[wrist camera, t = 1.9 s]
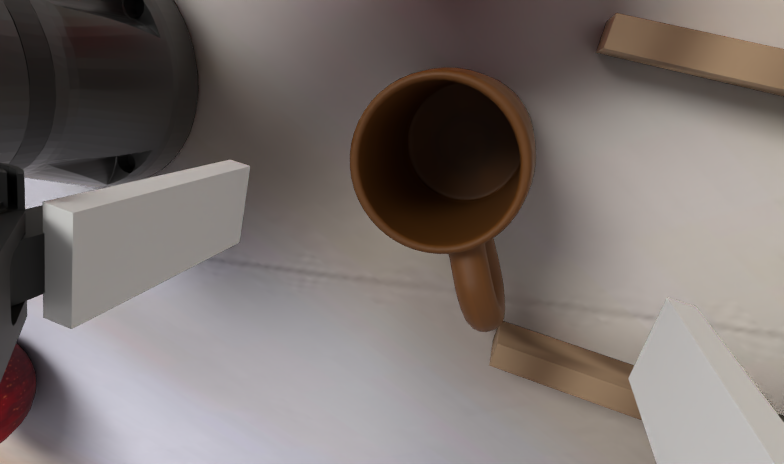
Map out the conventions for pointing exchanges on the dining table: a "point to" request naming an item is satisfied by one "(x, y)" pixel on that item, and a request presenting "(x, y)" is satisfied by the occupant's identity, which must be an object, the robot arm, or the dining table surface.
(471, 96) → the mug
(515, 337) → the u-shaped wooden frame
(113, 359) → the dining table surface
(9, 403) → the fruit
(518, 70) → the dining table surface
